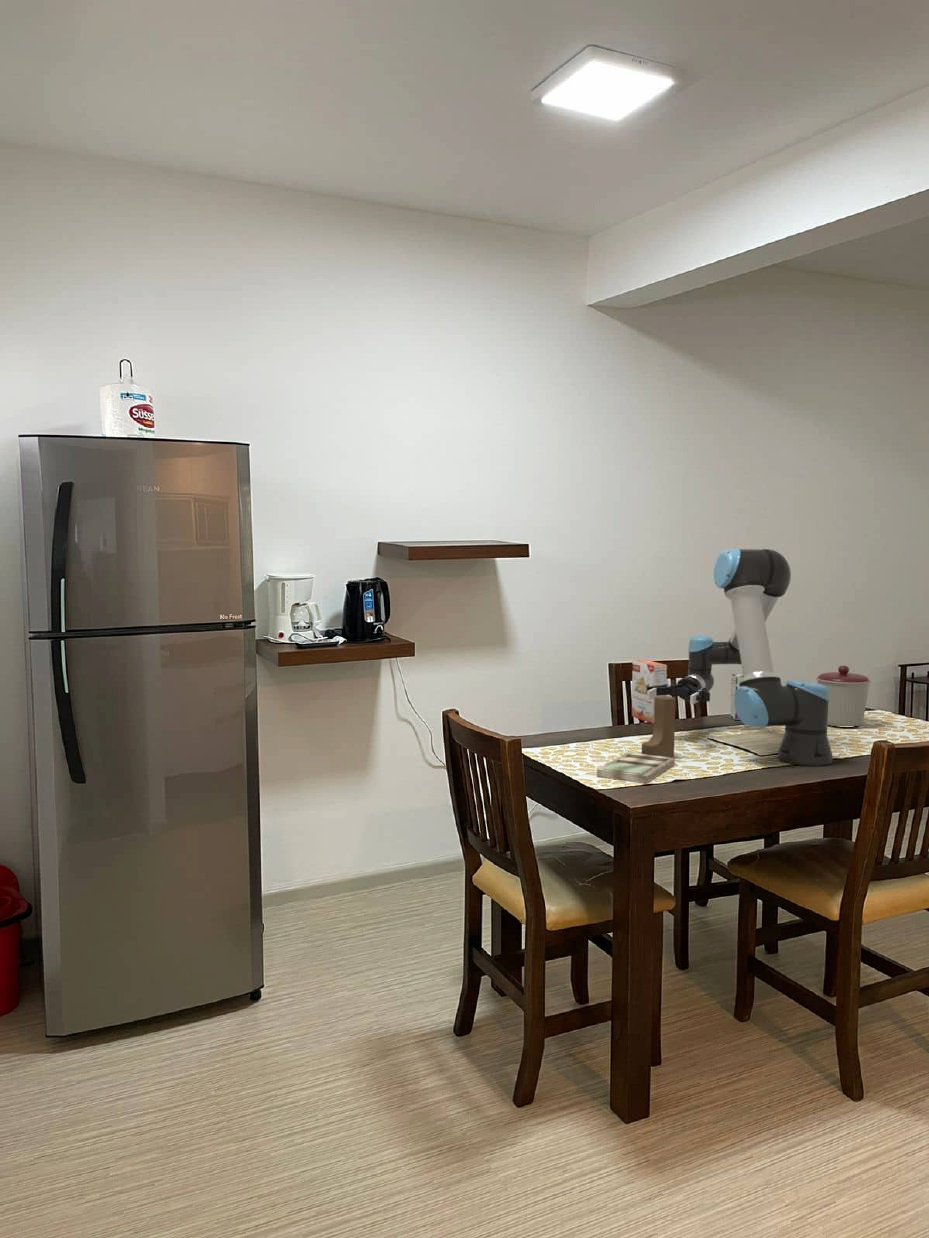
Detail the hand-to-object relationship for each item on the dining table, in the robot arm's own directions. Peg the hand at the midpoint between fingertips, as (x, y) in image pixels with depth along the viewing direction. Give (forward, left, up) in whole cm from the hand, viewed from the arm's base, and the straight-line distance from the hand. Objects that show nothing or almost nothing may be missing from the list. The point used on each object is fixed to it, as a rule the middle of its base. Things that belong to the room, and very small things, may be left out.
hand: (669, 697), depth 288 cm
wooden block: (-1, +12, -16) cm, 20 cm away
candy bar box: (-9, -63, -16) cm, 66 cm away
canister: (-40, -69, -16) cm, 81 cm away
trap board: (-1, +30, -16) cm, 34 cm away
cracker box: (+21, -43, -16) cm, 51 cm away
